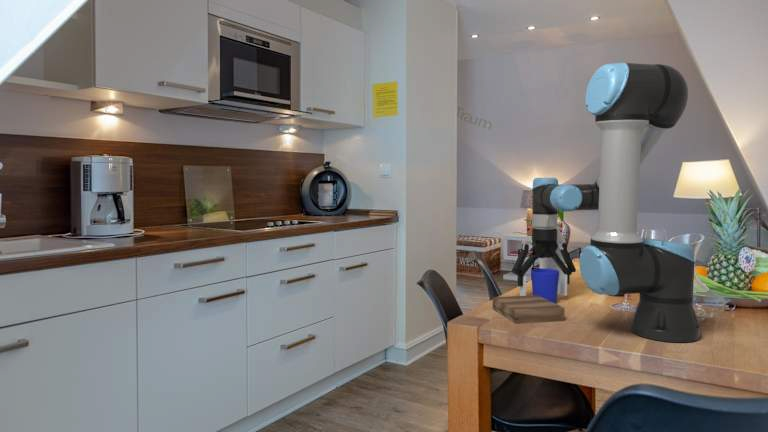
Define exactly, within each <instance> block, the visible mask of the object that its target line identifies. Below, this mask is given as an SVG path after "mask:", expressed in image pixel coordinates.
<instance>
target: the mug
mask: <svg viewBox="0 0 768 432" xmlns="http://www.w3.org/2000/svg"><path fill="white" fill-rule="evenodd" d="M530 271H531V287H532V288H531V289H532V295H538V296H540V297H542V298H544V299H547V300H549V301H551V302H553V303H555V304H556V302H557V297H558V294H557V289H558V279H559V271H558V270H554V269H539V268H534V269H531V270H530Z"/></svg>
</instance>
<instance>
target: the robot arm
mask: <svg viewBox="0 0 768 432" xmlns="http://www.w3.org/2000/svg"><path fill="white" fill-rule="evenodd" d="M687 84H688V83H687V81H686V79H685V77H684V76H683V75H682V73H680V71H679V70H677V68H674V67H673V66H669V65H667V64H660V63H659V64H657V63H656V64H649V63H648V64H647V63H632V62H630V63H629V62H619V63H617V62H616V63H615V62H614V63H605V64H603V65H601V66H600V67H599V68H598V69H596V71H595V72H594V73H593V75H592V77H591V78H590V80H589V82H588V85H587V87H586V89H585V90H586V91H585V92H586V93H585V99H584V100H585V101H584V102H585V106H586V109H587V111H588V112H589V114H591V115H592V116H595V118H594V119H595V121H594V123H595V125H596V126H597V127H598V128H599V129H600V130H601V140H600V141H601V142H600V159H599V160H600V163H599V166H600V168H599V176H598V177H597V178H596V180H595V182H594V183H589V184H588V183H587V184H586V183H584V184H577V183H575V184H574V183H573V184H568V183H567V184H565V183H563V184H559V179H558V178H557V177H534V179H533V181H532V189H531V192H532V194H531V195H532V196H531V199H532V200H531V201H532V202H531V204H532V205H531V206H532V207H531V211H532V213H531V214H532V215H531V218H532V219H531V226H532V227H533V228H531V244H530V243H529V244H527V243H522V245H521V250H520V252H519V254H518V255H517V259H515V260H516V261H515V263H514V265H513V267H512V269H511V273H512V274H514V275H516V276H517V282H516V283H517V286H518V287H519V296H527V276H526V273H527V272H528V271H529V269H530V268H531V267H532V266H533V264H534V263H535V262H536V261H538V260H539V259H540V258H545V257H546V258H550V257H551V258H552V259H553V260H554V261H555V262H556V264H557V265H558V266H559V267H560V269H561V270H562V271H563V272H564V274H563V273H561V288H560V294H559V295H563V296H564V297H565V296H568V285H569V284H570V275H572V273H575V272H576V271H577V269H576V267H575V264H574V263H573V260H572V258H571V256H570V253H569V251H568V246H567V243H566V242H565V243H562V242H560V243H559V244H557V229H556V228H555V227H558V221H559V220H558V213H559V212H558V211H560V212H562V213H563V212H574V211H598V212H597V214H598V215H597V231H596V232H595V233H593V234H592V235H591V236H590V243H589V245H587V246H585V247H584V248H582V250H581V253H579V254H580V255H579V261H578V263H579V264H578V266H579V270H580V271H579V272H580V275H581V277H582V281H584V283H585V286H586V287H587V288H588V289H589V290H590V291H592V292H593V293H594V294H597V295H610V296H616V295H628V294H629V295H631V294H639V300H638V304H637V306H636V309H635V311H634V313H633V316H632V317H633V318H632V319H631V321H630V331H631V333H633V334H634V335H637V336H640V337H643V338H646V339H650V340H654V341H659V342H668V343H669V342H670V343H692V342H696V341H698V340H700V337H701V328H700V325H699V322H698V321H699V320H698V319H697V315H696V314H697V313H696V311H695V309H694V304H693V303H694V280H695V279H694V277H695V265H696V261H695V250H694V247H693V246H692V245H690V244H689V243H683V242H679V241H678V242H676V241H671V240H665V239H664V240H662V239H657V238H646V237H645V238H644V237H643V238H642V237H641V236H640V235H639V233H638V215H639V213H638V212H639V195H640V194H639V192H640V189H639V188H640V171H641V170H640V167H641V165H642V164H643V162H645V160H646V159H647V157H648V156H649V155H650V153H651V151H652V150H653V149H654V148H655V146H656V144H658V142H659V141H660V139H661V138H662V136H663V135H664V133H665V132H666V131H667V130H670V129H673V128H674V127H675V126H676V125H677V123H678V122H679V120H680V119H681V117H682V116H683V114H684V112H685V109H686V107H687V103H688V100H689V89H688V85H687ZM557 248H558V249H559V250H560V252H561V254H562V256H563V259H564V261H565V264H564V263H563V262H562V260H561V259H560V258H559V256H558V255H557V253H556V252H555V251H556V250H557ZM530 251H532V252H531V253H530V254H529V252H530ZM528 254H529V257H528ZM527 257H528V258H527ZM526 258H527V259H526Z"/></svg>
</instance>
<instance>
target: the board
mask: <svg viewBox="0 0 768 432" xmlns="http://www.w3.org/2000/svg"><path fill="white" fill-rule="evenodd" d="M492 310H494V311H496V312H497V313H498V314H500V315H502V316H503V317H504V318H506V319H508V320H509V321H511V322H513V323H514V324H530V323H548V322H562V321H563V322H564V321H565V307H564V306H562V305H559V304H557V303H556V302H555V303H553V302H551V301H549V300H547V299H544V298H542V297H540V296H538V295H533V294H531V295H526V296H520V295H513V296H512V295H511V296H509V295H508V296H494V297H492Z"/></svg>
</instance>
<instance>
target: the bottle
mask: <svg viewBox="0 0 768 432" xmlns="http://www.w3.org/2000/svg"><path fill="white" fill-rule="evenodd" d="M555 228H556V229H557V244H559V243H560V242H562V243H566V240H565V238H564V236H563V234H562V232H561V231H560V229H559V227H558V226H557V227H555ZM555 252H556V253H557V255H558V256H559V258H560V259H561V260H562V262H563V263H564V264H565V265H566V263H565V261H564V259H563V256H562V254H561V252H560V250H559V249H558V248H557V250H556V251H555ZM538 267H539V268H538V269H554V270H558V271H559V279H558V289H557V295H561V294H560V288H561V273H563V274H564V272H563V271H562V270H561V269H560V267H559V266H558V265H557V264H556V262H555V261H554V260H553V259H552V258H551V257H550V258H546V257H545V258H539V266H538Z"/></svg>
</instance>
